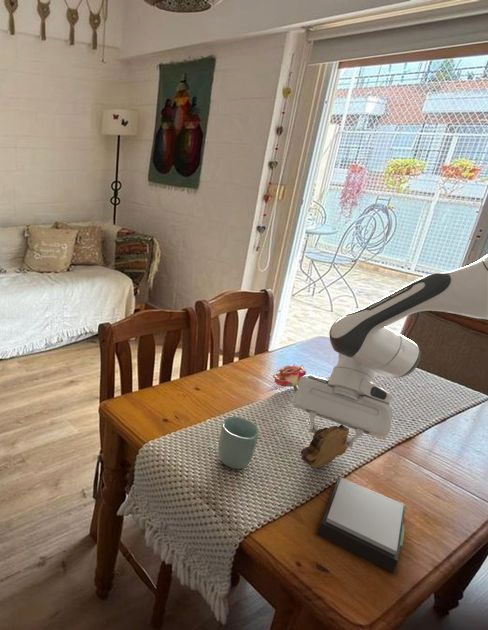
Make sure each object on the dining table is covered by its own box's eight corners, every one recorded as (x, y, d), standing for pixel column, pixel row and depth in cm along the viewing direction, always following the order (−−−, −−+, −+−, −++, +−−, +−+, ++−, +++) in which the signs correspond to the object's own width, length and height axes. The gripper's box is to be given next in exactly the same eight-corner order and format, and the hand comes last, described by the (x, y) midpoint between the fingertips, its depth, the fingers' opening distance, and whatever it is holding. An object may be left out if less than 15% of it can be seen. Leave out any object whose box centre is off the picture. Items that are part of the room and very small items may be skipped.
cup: (246, 479, 98) (255, 443, 94) (211, 465, 101) (218, 430, 97) (253, 459, 104) (261, 424, 100) (220, 446, 107) (227, 412, 103)
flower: (315, 385, 132) (305, 359, 133) (307, 391, 125) (297, 364, 126) (282, 391, 138) (274, 367, 139) (273, 398, 131) (264, 372, 132)
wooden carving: (330, 445, 109) (339, 411, 106) (349, 455, 106) (359, 420, 102) (292, 469, 101) (300, 432, 97) (311, 481, 97) (320, 443, 94)
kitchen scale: (403, 518, 89) (410, 503, 87) (395, 574, 77) (403, 558, 76) (334, 487, 96) (339, 473, 94) (317, 534, 84) (323, 519, 83)
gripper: (302, 367, 110) (282, 417, 106) (401, 398, 98) (382, 455, 95) (302, 376, 115) (283, 424, 111) (396, 406, 103) (378, 461, 99)
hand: (329, 439), depth 103 cm, fingers open, 6 cm apart
